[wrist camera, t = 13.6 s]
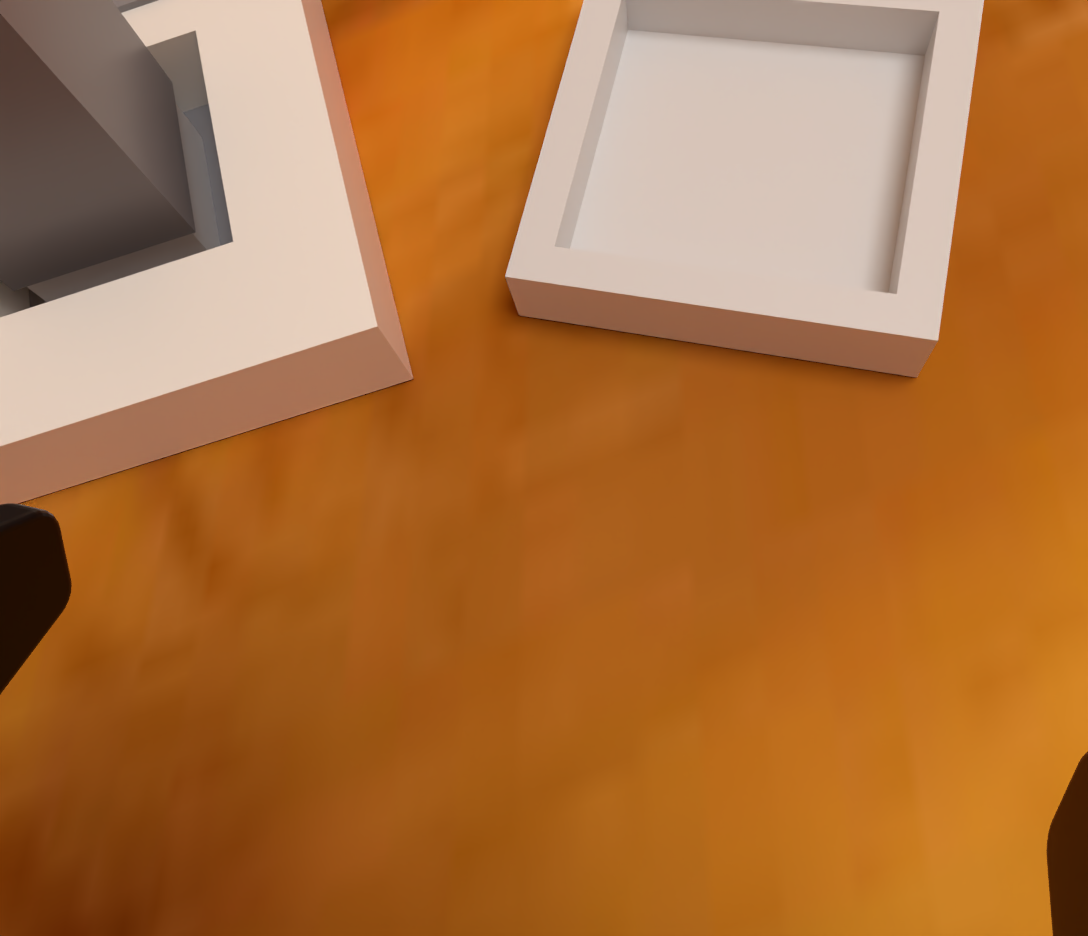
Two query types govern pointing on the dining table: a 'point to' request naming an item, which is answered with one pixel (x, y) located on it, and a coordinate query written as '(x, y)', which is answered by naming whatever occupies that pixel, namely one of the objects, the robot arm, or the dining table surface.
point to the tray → (755, 176)
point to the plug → (92, 152)
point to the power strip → (215, 270)
